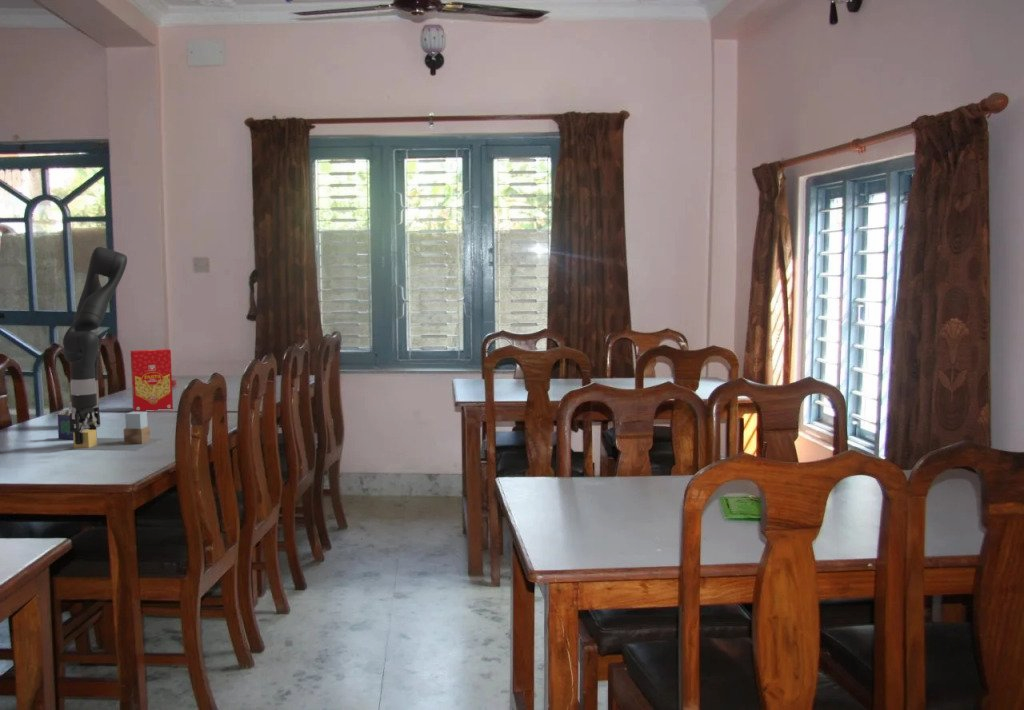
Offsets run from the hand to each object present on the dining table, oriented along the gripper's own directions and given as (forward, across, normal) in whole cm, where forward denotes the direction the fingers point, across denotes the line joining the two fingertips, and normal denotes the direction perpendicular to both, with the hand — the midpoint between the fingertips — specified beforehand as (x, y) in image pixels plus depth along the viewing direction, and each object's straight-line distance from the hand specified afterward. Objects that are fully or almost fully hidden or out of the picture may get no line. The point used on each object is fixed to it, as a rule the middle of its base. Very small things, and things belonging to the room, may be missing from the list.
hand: (86, 441), depth 285 cm
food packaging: (+2, -76, -13) cm, 77 cm away
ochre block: (+2, 0, 0) cm, 2 cm away
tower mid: (-4, -7, +14) cm, 16 cm away
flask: (+2, -12, -12) cm, 17 cm away
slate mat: (+2, -4, +8) cm, 9 cm away
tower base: (+2, -7, +14) cm, 15 cm away
